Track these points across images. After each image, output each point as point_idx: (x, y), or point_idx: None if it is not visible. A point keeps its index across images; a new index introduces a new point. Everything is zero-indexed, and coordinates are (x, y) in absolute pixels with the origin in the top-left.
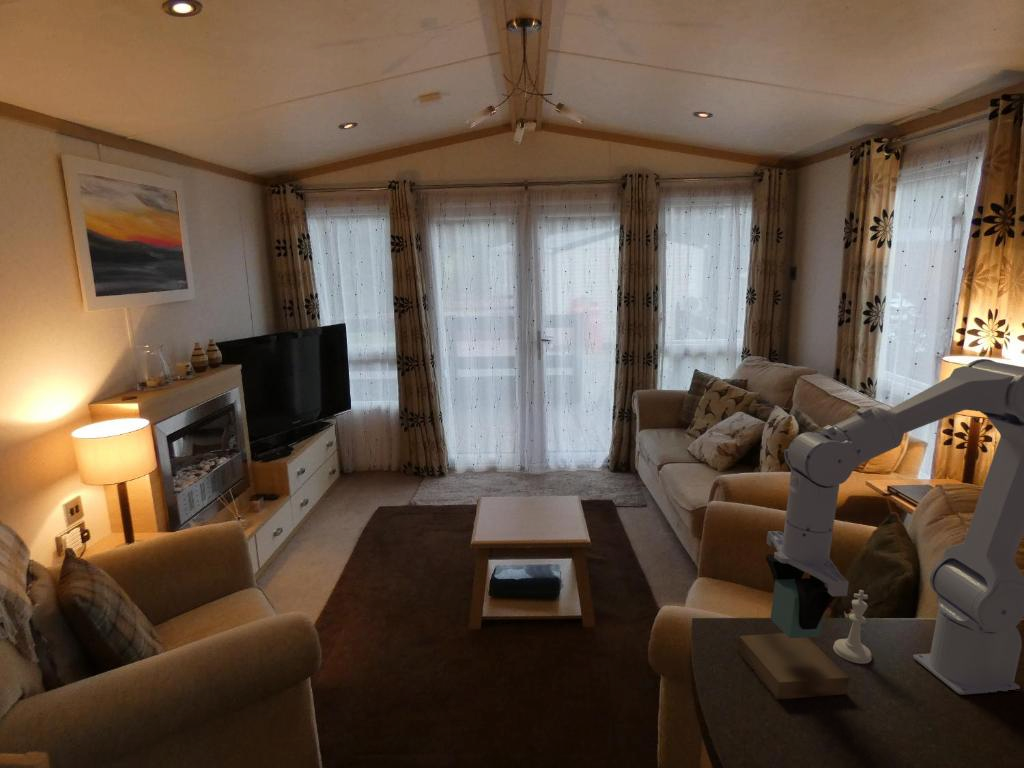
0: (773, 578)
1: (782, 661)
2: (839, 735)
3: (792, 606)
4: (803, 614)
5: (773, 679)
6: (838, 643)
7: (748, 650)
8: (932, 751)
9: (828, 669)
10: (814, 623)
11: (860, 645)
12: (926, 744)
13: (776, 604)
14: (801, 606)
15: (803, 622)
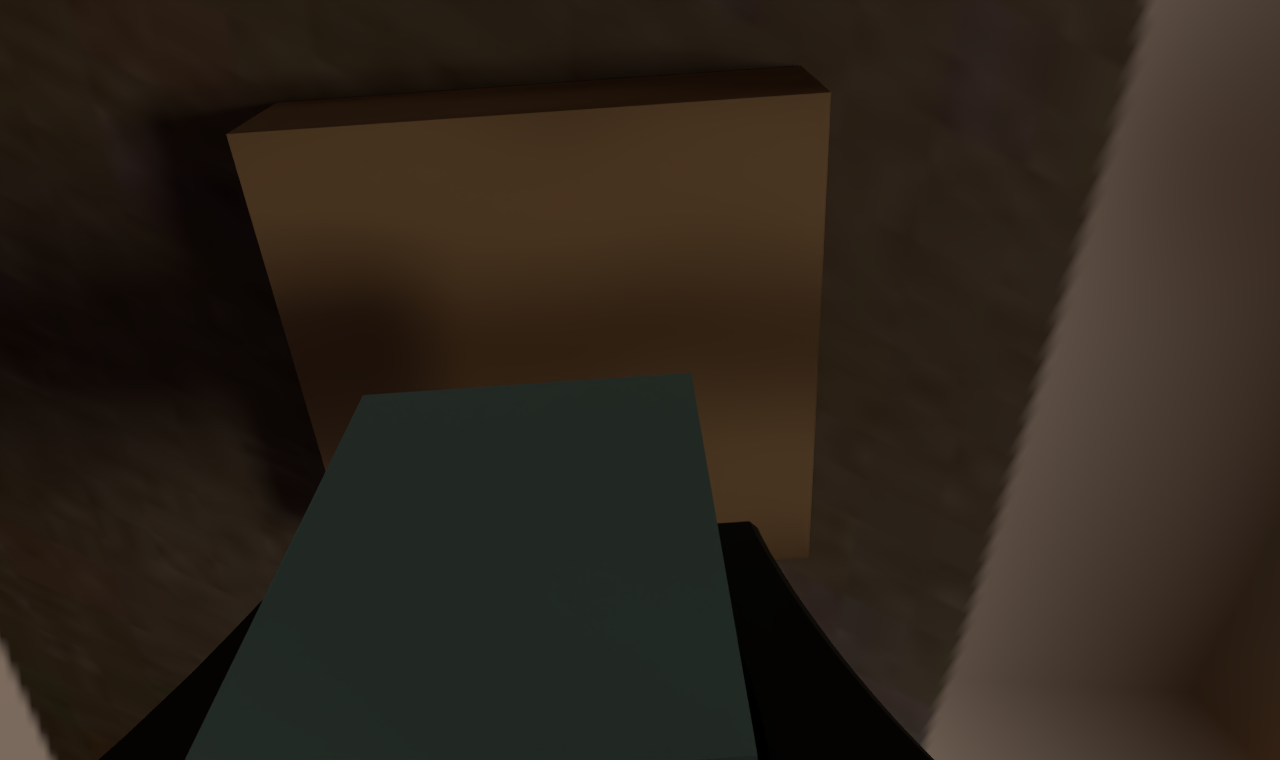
0: (897, 734)
1: (490, 284)
2: (28, 319)
3: (266, 644)
4: (193, 676)
5: (307, 123)
6: None
7: (669, 97)
8: (44, 644)
9: None
10: None
11: None
12: (85, 646)
13: (630, 503)
14: (176, 743)
15: (257, 605)
